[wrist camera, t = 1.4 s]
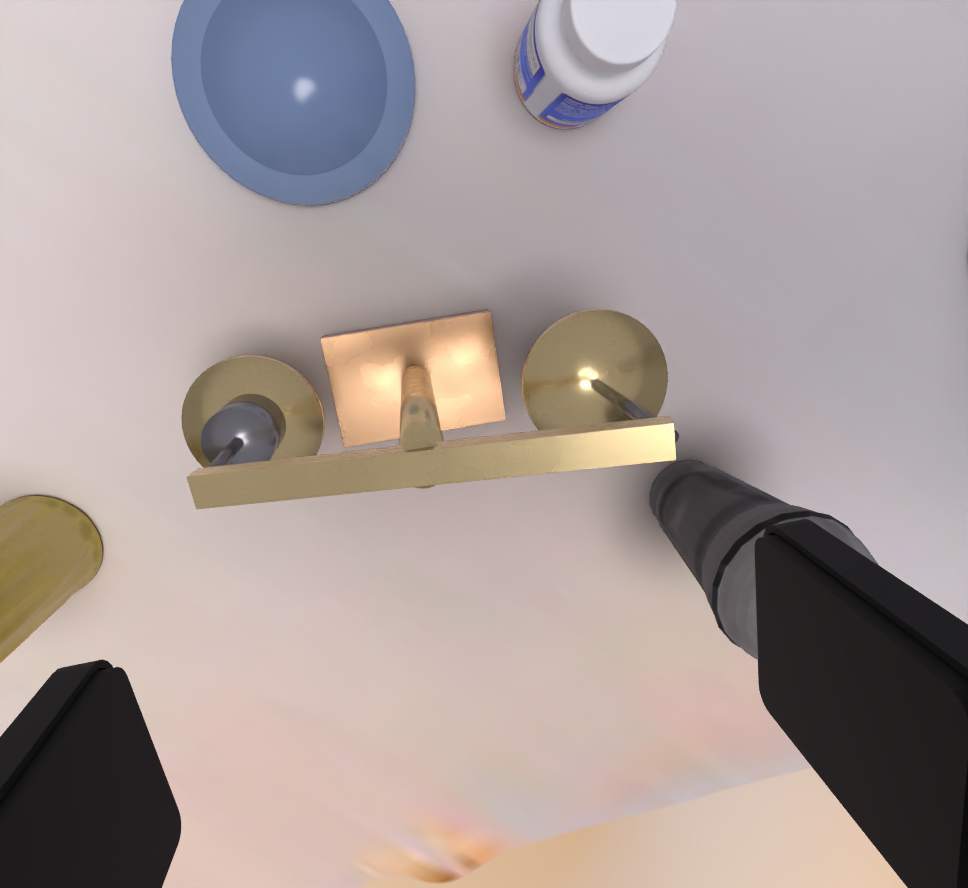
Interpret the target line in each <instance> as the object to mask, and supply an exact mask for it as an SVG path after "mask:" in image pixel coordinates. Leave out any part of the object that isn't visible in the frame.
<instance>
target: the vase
mask: <svg viewBox="0 0 968 888" xmlns="http://www.w3.org/2000/svg"><path fill="white" fill-rule="evenodd" d="M101 560H102V544H101V540H100V536H99V534H98V532H97V530H96V528H95V527H94V525H93V524H92V522H91V521H90V520H89V519H88V517H87V516H85V515H84V514H83V513H82V512H81V511H80V510H78V509H77V508H75V507H73V506H72V505H70V504H68V503H66V502H63V501H61V500H58V499H55V498H51V497H44V496H26V497H21V498H18V499H14V500H12V501H9V502H7V503H5V504H4V505H2V506H0V663H1V662H2V661H3V660H4V659H5V658H6V657H7V656H8V655H9V654H11V653H12V652H13V651H14V650H15V649H16V648H17V647H18V646H19V645H20V644H21V643H22V642H23V641H24V640H25V639H27V638H28V637H29V636H30V635H31V634H32V633H33V632H34V631H35V630H36V629H37V628H38V627H39V626H40V625H41V624H42V623H43V622H45V621H46V620H47V619H48V618H49V617H50V616H51V615H52V614H53V613H54V612H55V611H56V610H58V609H59V608H60V607H61V606H62V605H63V604H64V603H65V602H66V601H67V599H68V598H69V597H70V596H71V595H73V594H74V593H75V592H77V591H78V590H80V589H82V588H83V587H84V586H85V585H87V584H88V583H89V582H90V581H91V580H92V579H93V577H94V576H95V575H96V573H97V571H98V570H99V567H100V565H101Z"/></svg>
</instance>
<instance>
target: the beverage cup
mask: <svg viewBox="0 0 968 888" xmlns="http://www.w3.org/2000/svg"><path fill="white" fill-rule="evenodd" d="M650 506H651V509H652V511H653V514H654V515H655V516H656V517H657V520H658V521H659V524H660V526H661V528H662V529H663V531H664V532H665V534H666V535H667V537H668V538H669V540H670V541H671V543H672V544H673V546H674V547H675V549H676V550H677V551H678V553H679V554H680V556H681V557H682V559H683V560H684V562H685V563H686V565H687V566H688V568H689V569H690V571H691V572H692V574H693V575H694V577H695V578H696V580H697V581H698V583H699V584H700V586H701V587H702V589H703V590H704V592H705V594H706V597H707V600H708V602H709V604H710V607H711V609H712V611H713V613H714V615H715V618H716V621H717V624H718V627H719V628H720V629H721V630H722V632H723V633H724V634H725V635H726V636H727V637H728V639H729V640H730V641H731V642H732V643H733V644H735V645H737V646H738V647H740V648H742V649H743V650H744V651H745V652H746V653H748V654H749V655H751V656H752V657H754V658H756V659H758V645H757V614H756V582H755V551H754V548H755V542H756V540H757V539H758V538H760V537H763V534H764V532H765V529H766V528H767V527H768V526H771V525H776V524H781V523H786V522H791V521H796V520H801V519H808V520H810V521H812V522H814V523H815V524H817V525H818V526H820V527H821V528H823V529H824V530H826V531H827V532H829V533H830V534H832V535H834V536H835V537H837V538H838V539H840V540H841V541H843V542H844V543H846V544H847V545H849V546H850V547H852V548H853V549H855V550H856V551H858V552H859V553H861V554H862V555H864V556H865V557H867V558H868V559H870V560H871V561H873V562H874V563H876V564H877V565H878V563H877V562H876V561H875V559H874V558H873V556H872V555H871V554H870V552H869V551H868V549H867V548H866V547H865V546H864V544H863V543H862V542H861V541H860V540H859V539H858V538H857V537H856V536H855V535H854V534H853V533H852V531H851V530H850V529H849V528H848V526H846V525H845V524H843V523H841V522H840V521H838V520H837V519H835V518H833V517H832V516H830V515H827V514H822V513H817V512H814V511H811V510H808V509H805V508H802V507H798V506H793V505H789V504H787V503H785V502H783V501H781V500H779V499H777V498H775V497H773V496H771V495H769V494H767V493H765V492H763V491H761V490H759V489H757V488H755V487H753V486H751V485H749V484H747V483H745V482H743V481H741V480H739V479H737V478H735V477H733V476H731V475H729V474H727V473H725V472H723V471H721V470H719V469H717V468H715V467H711V466H708V465H706V464H704V463H702V462H700V461H695V460H684V461H678V462H676V463H674V464H671V465H669V466H668V467H667V468H665V469H664V470H663V471H662V472H661V473H660V474H659V475H658V476H657V478H656V479H655V481H654V482H653V485H652V488H651V491H650Z"/></svg>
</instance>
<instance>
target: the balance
mask: <svg viewBox="0 0 968 888" xmlns="http://www.w3.org/2000/svg"><path fill="white" fill-rule="evenodd" d="M321 344H322V348H323V353H324V357H325V362H326V366H327V371H328V376H329V380H330V385H331V389H332V394H333V398H334V403H335V407H336V412H337V416H338V421H339V425H340V430H341V434H342V439H343V443H344V448H345V447H350V446H356V445H362V444H368V443H374V442H379V441H385V440H391V439H397V438H400V442H399V446H395V447H386V448H377V449H368V450H359V451H350V452H341V453H332V454H323V455H316V454H317V452H318V450H319V448H320V445H321V443H322V439H323V435H324V414H323V409H322V406H321V402H320V400H319V398H318V396H317V394H316V392H315V390H314V389H313V387H312V386H311V384H310V383H309V382H308V381H307V380H306V379H305V378H304V377H303V376H302V375H301V374H300V373H299V372H298V371H296V370H295V369H294V368H292V367H291V366H289V365H287V364H285V363H283V362H281V361H279V360H276V359H273V358H269V357H265V356H259V355H243V356H236V357H232V358H228V359H226V360H223V361H221V362H219V363H217V364H215V365H213V366H212V367H210V368H209V369H207V370H206V371H205V372H203V373H202V374H201V375H200V376H199V377H198V378H197V379H196V380H195V382H194V383H193V384H192V386H191V387H190V389H189V391H188V393H187V395H186V398H185V400H184V404H183V409H182V429H183V433H184V437H185V440H186V443H187V445H188V447H189V449H190V451H191V453H192V454H193V455H194V457H195V458H196V460H197V461H198V462H199V463H200V464H201V465H202V466H203V467H204V468H198V469H197V470H196V471H194V472H193V473H191V474H190V475H188V476H187V480H188V483H189V486H190V490H191V493H192V496H193V499H194V503H195V506H196V509H204V508H214V507H224V506H233V505H243V504H253V503H263V502H272V501H282V500H292V499H301V498H311V497H321V496H331V495H340V494H350V493H360V492H370V491H379V490H389V489H399V488H409V487H417V488H430V487H433V486H435V485H438V484H448V483H457V482H467V481H477V480H487V479H496V478H506V477H516V476H526V475H535V474H545V473H555V472H565V471H574V470H584V469H594V468H604V467H613V466H623V465H633V464H643V463H652V462H662V461H672V460H676V452H675V443H676V442H677V441H678V438H679V435H678V433H677V431H675V430H674V423H673V421H672V420H671V418H670V416H664V417H657V415H658V413H659V411H660V409H661V407H662V404H663V402H664V398H665V394H666V390H667V382H668V372H667V364H666V360H665V356H664V353H663V351H662V348H661V346H660V344H659V343H658V341H657V339H656V338H655V336H654V335H653V334H652V333H651V331H650V330H649V329H647V328H646V327H645V326H644V325H643V324H642V323H640V322H639V321H637V320H636V319H634V318H632V317H630V316H628V315H626V314H623V313H620V312H616V311H612V310H607V309H587V310H582V311H578V312H575V313H572V314H569V315H567V316H565V317H563V318H561V319H559V320H558V321H556V322H555V323H553V324H552V325H551V326H550V327H548V328H547V329H546V330H545V331H544V332H543V333H542V334H541V336H540V337H539V338H538V339H537V340H536V342H535V343H534V345H533V347H532V348H531V350H530V352H529V354H528V356H527V359H526V362H525V365H524V369H523V374H522V395H523V400H524V404H525V407H526V410H527V413H528V415H529V417H530V419H531V420H532V422H533V423H534V425H535V426H536V427H537V429H538V431H529V432H520V433H511V434H502V435H493V436H484V437H475V438H467V439H458V440H449V441H443V436H442V431H443V430H449V429H455V428H461V427H467V426H472V425H478V424H484V423H490V422H496V421H501V420H506V418H505V411H504V404H503V397H502V390H501V383H500V375H499V368H498V361H497V354H496V347H495V340H494V333H493V325H492V318H491V311H489V310H482V311H475V312H469V313H463V314H457V315H450V316H444V317H438V318H432V319H425V320H419V321H413V322H407V323H400V324H394V325H388V326H382V327H375V328H369V329H363V330H357V331H350V332H344V333H338V334H332V335H325V336H323V337H322V338H321Z"/></svg>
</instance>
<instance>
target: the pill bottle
mask: <svg viewBox="0 0 968 888" xmlns="http://www.w3.org/2000/svg"><path fill="white" fill-rule="evenodd" d="M675 11H676V0H539V2H538V4H537V6H536V8H535V10H534V12H533V14H532V16H531V18H530V20H529V22H528V24H527V25H526V27H525V30H524V32H523V34H522V36H521V38H520V40H519V43H518V45H517V48H516V51H515V59H514V78H515V84H516V87H517V90H518V93H519V96H520V98H521V100H522V102H523V103H524V105H525V107H526V108H527V109H528V111H529V112H530V113H531V114H532V115H533V116H534V117H535V118H536V119H538V120H539V121H541V122H542V123H544V124H546V125H549V126H551V127H555V128H560V129H571V128H577V127H580V126H583V125H586V124H588V123H590V122H592V121H593V120H595V119H597V118H598V117H600V116H601V115H602V114H604V113H605V112H607V111H608V110H609V109H611V108H612V107H613V106H615V105H616V104H618V103H619V102H620V101H622V100H623V99H625V98H626V97H627V96H629V95H630V94H632V93H633V92H634V91H636V90H637V89H638V88H639V87H640V86H641V85H642V84H643V83H644V82H645V81H646V80H647V79H648V78H649V77H650V75H651V74H652V73H653V71H654V70H655V68H656V66H657V65H658V63H659V61H660V59H661V57H662V54H663V51H664V48H665V44H666V40H667V35H668V33H669V31H670V29H671V26H672V23H673V20H674V16H675Z"/></svg>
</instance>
